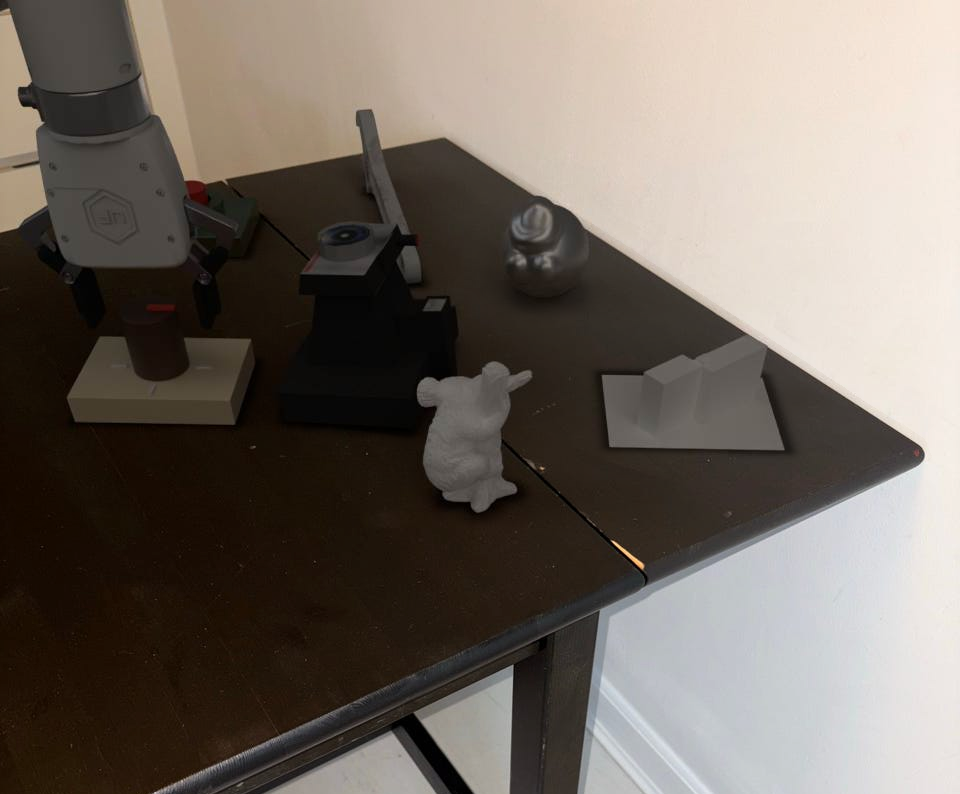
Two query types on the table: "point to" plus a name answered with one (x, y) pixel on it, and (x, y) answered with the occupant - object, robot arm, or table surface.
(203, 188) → the button
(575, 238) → the dark grey rounded lump
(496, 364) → the animal figurine
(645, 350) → the table surface
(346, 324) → the camera
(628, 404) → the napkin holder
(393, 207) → the wrench
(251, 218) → the button block
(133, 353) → the dial
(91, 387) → the panel
